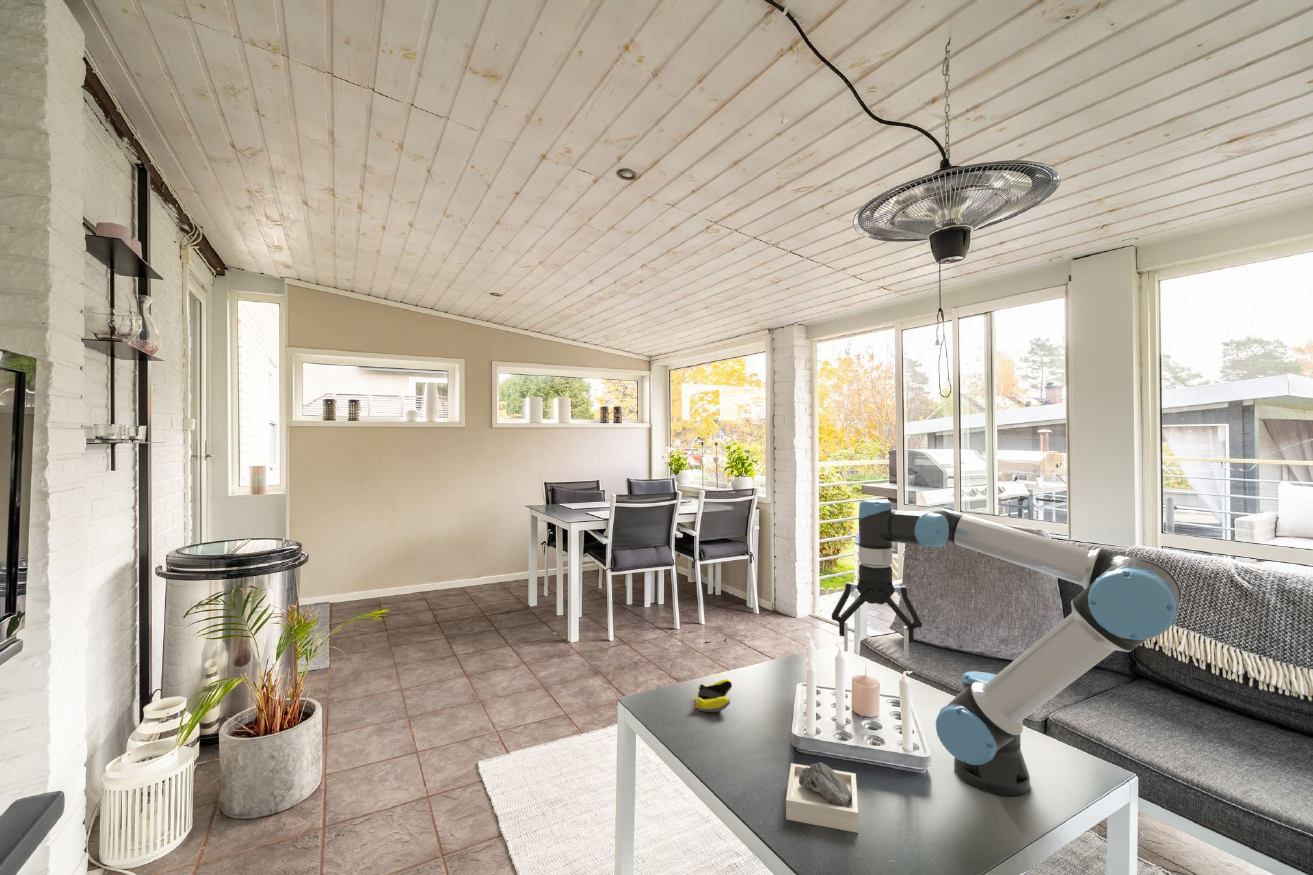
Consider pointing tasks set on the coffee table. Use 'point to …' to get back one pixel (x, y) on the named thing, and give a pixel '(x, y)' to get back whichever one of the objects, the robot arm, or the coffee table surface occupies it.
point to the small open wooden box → (821, 803)
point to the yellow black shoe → (713, 696)
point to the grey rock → (825, 784)
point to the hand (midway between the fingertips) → (875, 652)
